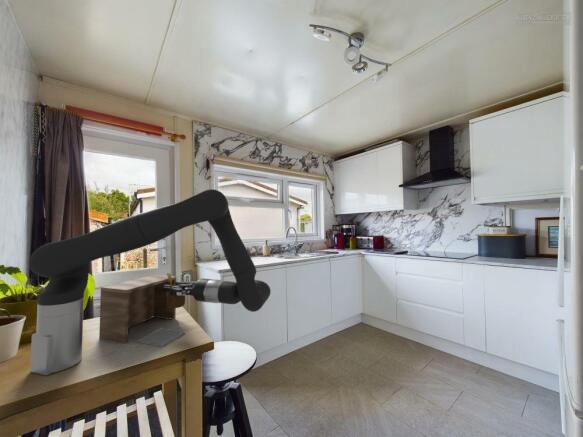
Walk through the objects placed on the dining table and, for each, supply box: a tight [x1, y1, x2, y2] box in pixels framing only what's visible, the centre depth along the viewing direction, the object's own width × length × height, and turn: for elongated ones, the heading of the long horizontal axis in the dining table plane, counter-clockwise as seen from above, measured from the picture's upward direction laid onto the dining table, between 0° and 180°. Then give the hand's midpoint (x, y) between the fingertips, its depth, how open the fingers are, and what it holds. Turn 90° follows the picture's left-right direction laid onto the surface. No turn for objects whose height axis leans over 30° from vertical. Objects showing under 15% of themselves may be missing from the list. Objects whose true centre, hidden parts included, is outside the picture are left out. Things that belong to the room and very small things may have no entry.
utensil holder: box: [166, 272, 186, 309], centre depth 86 cm, size 6×6×12 cm
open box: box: [98, 274, 177, 345], centre depth 90 cm, size 22×11×17 cm, turn 164°
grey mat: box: [137, 327, 186, 347], centre depth 82 cm, size 10×10×1 cm
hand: (170, 286), depth 87 cm, fingers closed on utensil holder, 5 cm apart
